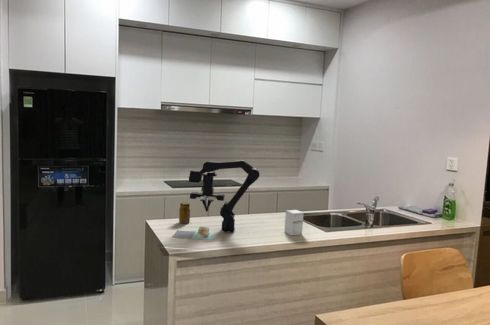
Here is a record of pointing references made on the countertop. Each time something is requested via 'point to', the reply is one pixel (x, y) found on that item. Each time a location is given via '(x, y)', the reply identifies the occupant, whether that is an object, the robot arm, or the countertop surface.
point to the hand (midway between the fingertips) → (206, 211)
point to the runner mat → (190, 235)
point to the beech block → (203, 232)
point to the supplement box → (293, 222)
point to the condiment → (184, 213)
